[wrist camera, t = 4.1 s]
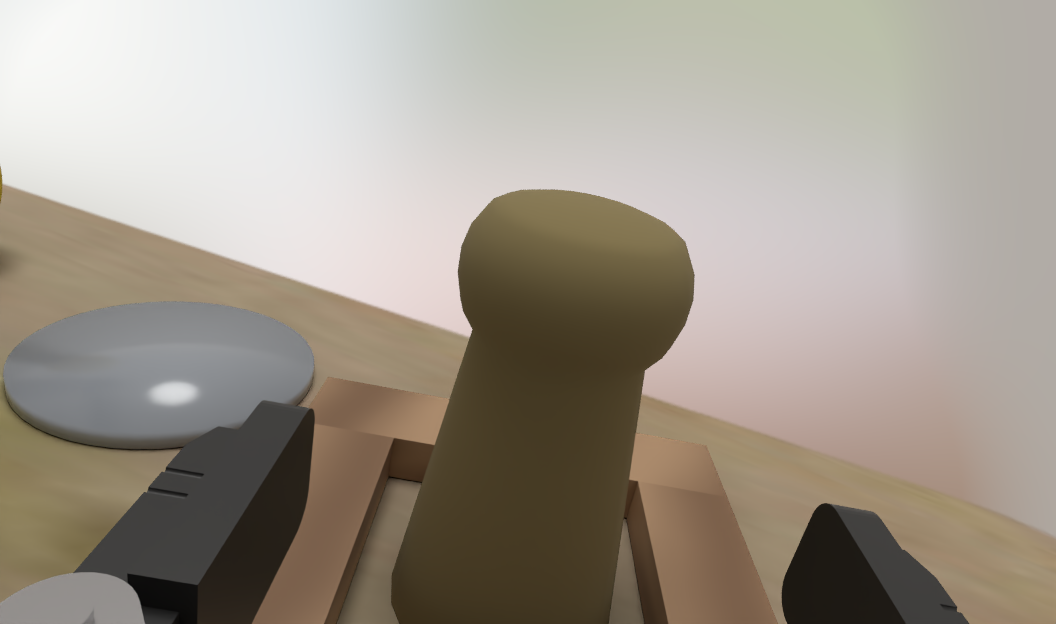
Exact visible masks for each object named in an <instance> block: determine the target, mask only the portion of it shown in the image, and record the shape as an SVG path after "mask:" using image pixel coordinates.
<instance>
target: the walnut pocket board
mask: <svg viewBox="0 0 1056 624" xmlns="http://www.w3.org/2000/svg"><path fill="white" fill-rule="evenodd" d="M449 400H450V399H447V398H442V397H436V396H431V395H425V394H420V393H414V392H409V391H403V390H398V389H392V388H387V387H381V386H376V385H370V384H365V383H359V382H354V381H348V380H343V379H337V378H332V377H328V378H327V380H326V381H325V383H324V384H323V386H322V387H321V389H320V390H319V392H318V394H317V395H316V397H315V398H314V400H313V401H312V403H311V405H310V406H309V408H311V409H313V410H314V414H315V425H314V437H313V448H312V459H311V471H310V482H309V492H308V498H307V503H306V507H305V511H304V515H303V518H302V521H301V524H300V527H299V529H298V532H297V534H296V536H295V538H294V540H293V542H292V544H291V546H290V548H289V550H288V552H287V554H286V556H285V558H284V560H283V562H282V564H281V566H280V568H279V570H278V572H277V574H276V576H275V578H274V580H273V582H272V584H271V586H270V588H269V590H268V592H267V594H266V596H265V598H264V600H263V602H262V604H261V606H260V608H259V610H258V612H257V614H256V616H255V618H254V620H253V622H252V624H336V623H337V620H338V617H339V614H340V612H341V609H342V606H343V603H344V600H345V597H346V595H347V592H348V589H349V586H350V583H351V581H352V578H353V575H354V572H355V569H356V567H357V564H358V561H359V558H360V555H361V552H362V550H363V547H364V544H365V541H366V538H367V536H368V533H369V530H370V527H371V524H372V521H373V519H374V516H375V513H376V510H377V507H378V505H379V502H380V499H381V496H382V493H383V490H384V488H385V485H386V482H387V479H388V476H390V477H396V478H402V479H407V480H413V481H419V482H423V479H424V476H425V473H426V469H427V466H428V463H429V460H430V457H431V454H432V451H433V448H434V445H435V442H436V439H437V436H438V433H439V430H440V427H441V424H442V421H443V418H444V415H445V412H446V409H447V406H448V403H449ZM624 517H625V518H627V523H628V529H629V535H630V540H631V546H632V552H633V558H634V563H635V569H636V575H637V581H638V586H639V592H640V598H641V604H642V609H643V615H644V621H645V624H778V623H777V620H776V618H775V615H774V613H773V610H772V608H771V605H770V603H769V600H768V598H767V595H766V593H765V590H764V588H763V585H762V583H761V580H760V578H759V575H758V573H757V570H756V568H755V565H754V563H753V560H752V558H751V555H750V553H749V550H748V548H747V545H746V543H745V540H744V538H743V536H742V533H741V531H740V528H739V526H738V523H737V521H736V518H735V516H734V513H733V511H732V508H731V506H730V503H729V501H728V498H727V496H726V493H725V491H724V488H723V486H722V483H721V481H720V478H719V476H718V473H717V471H716V468H715V466H714V463H713V461H712V458H711V456H710V453H709V451H708V448H707V446H706V445H700V444H695V443H689V442H684V441H678V440H673V439H667V438H662V437H656V436H651V435H645V434H640V433H636V435H635V442H634V449H633V456H632V463H631V470H630V477H629V484H628V491H627V498H626V505H625V511H624Z"/></svg>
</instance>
